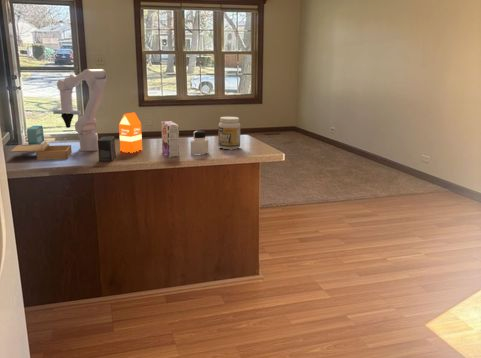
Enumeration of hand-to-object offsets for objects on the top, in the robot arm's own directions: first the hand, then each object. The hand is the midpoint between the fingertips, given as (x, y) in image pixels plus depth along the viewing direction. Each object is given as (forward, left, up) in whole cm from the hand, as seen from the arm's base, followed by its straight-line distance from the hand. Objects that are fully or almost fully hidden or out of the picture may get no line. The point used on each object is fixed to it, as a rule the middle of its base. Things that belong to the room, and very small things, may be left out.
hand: (68, 127), depth 246 cm
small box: (-22, +34, -11) cm, 42 cm away
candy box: (-53, +28, -11) cm, 61 cm away
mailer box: (+4, +24, -10) cm, 27 cm away
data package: (+16, +6, -11) cm, 20 cm away
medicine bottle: (-68, +28, -11) cm, 75 cm away
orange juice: (-33, +16, -11) cm, 39 cm away
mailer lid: (+15, +24, -6) cm, 29 cm away
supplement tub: (-86, +16, -11) cm, 89 cm away
